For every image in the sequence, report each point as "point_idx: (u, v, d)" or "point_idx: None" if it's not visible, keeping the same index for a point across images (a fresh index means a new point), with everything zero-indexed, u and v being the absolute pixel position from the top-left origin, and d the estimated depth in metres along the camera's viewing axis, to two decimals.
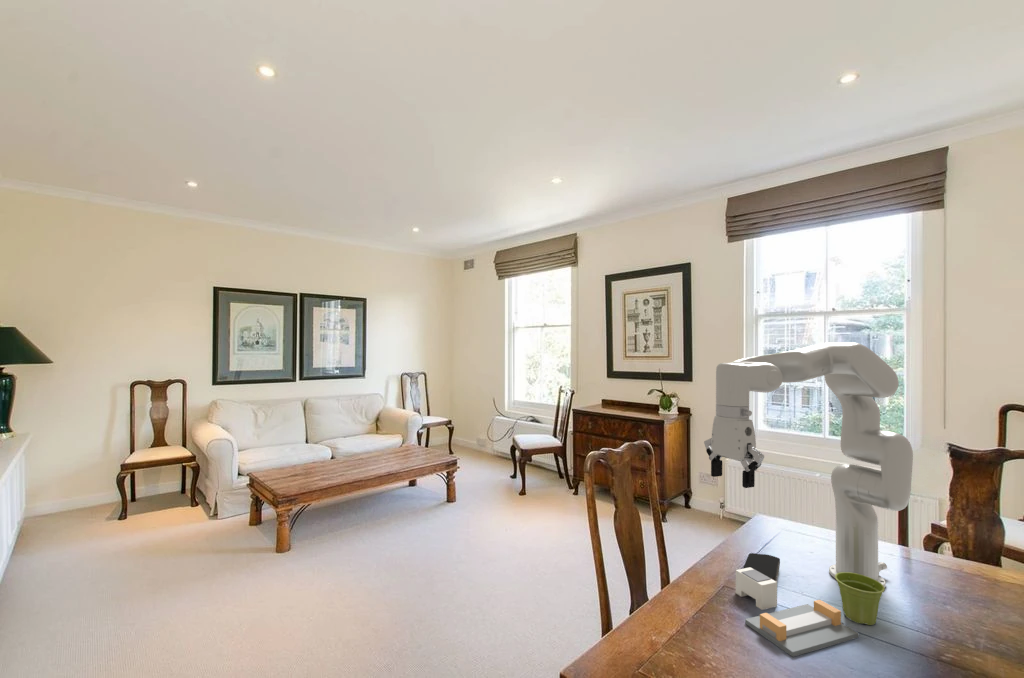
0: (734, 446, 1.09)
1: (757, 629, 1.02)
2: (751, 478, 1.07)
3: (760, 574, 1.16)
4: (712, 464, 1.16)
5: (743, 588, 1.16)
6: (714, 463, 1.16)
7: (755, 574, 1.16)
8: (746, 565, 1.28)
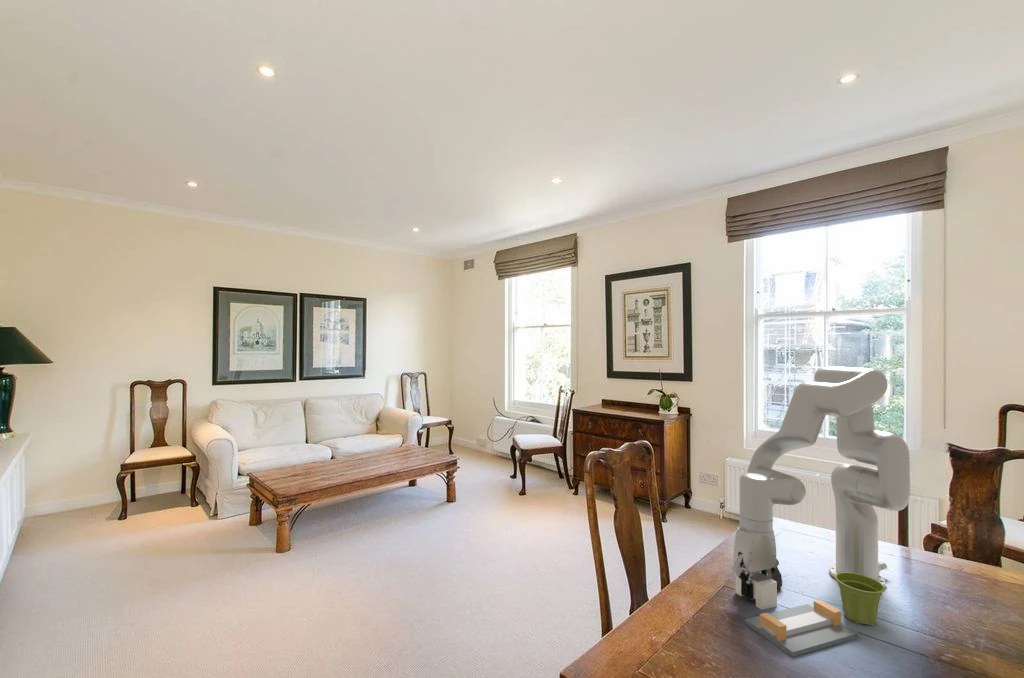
0: (771, 556, 1.14)
1: (757, 629, 1.02)
2: None
3: (760, 574, 1.16)
4: (752, 587, 1.13)
5: None
6: None
7: (755, 574, 1.16)
8: None
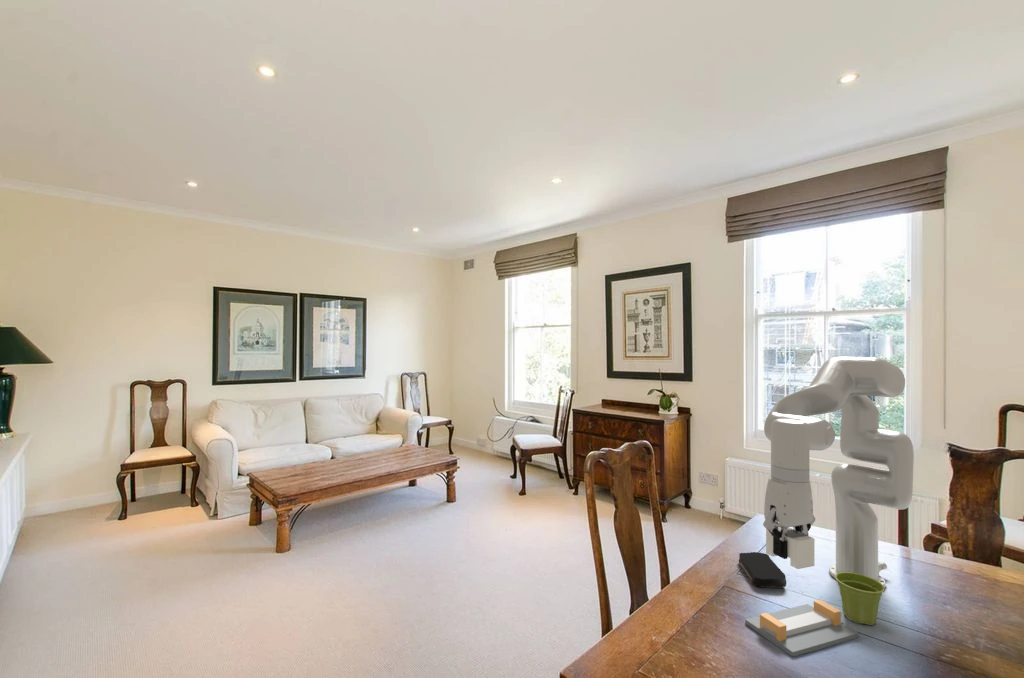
0: (808, 510, 1.01)
1: (757, 629, 1.02)
2: None
3: (794, 531, 1.03)
4: None
5: None
6: None
7: (789, 531, 1.03)
8: (751, 568, 1.26)
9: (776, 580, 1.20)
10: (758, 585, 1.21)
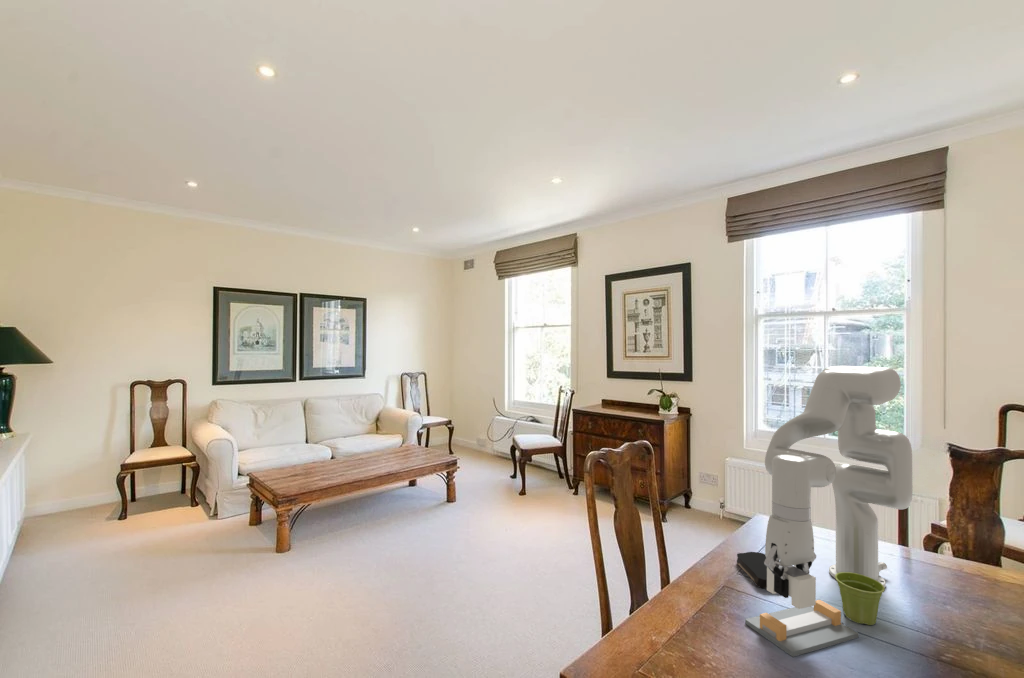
0: (809, 548, 1.01)
1: (757, 629, 1.02)
2: None
3: (795, 569, 1.02)
4: (788, 583, 0.99)
5: None
6: None
7: (790, 568, 1.02)
8: (752, 569, 1.26)
9: None
10: (762, 586, 1.20)
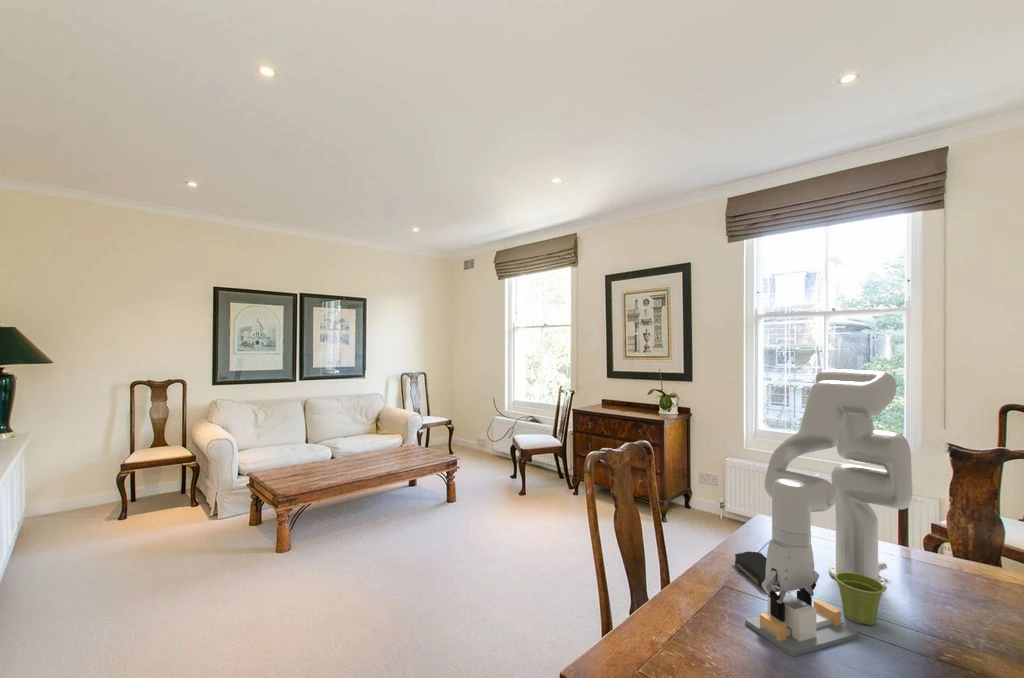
0: (809, 573, 1.01)
1: (757, 629, 1.02)
2: None
3: (796, 599, 1.02)
4: (784, 607, 0.99)
5: None
6: None
7: (790, 599, 1.02)
8: (754, 570, 1.25)
9: None
10: None
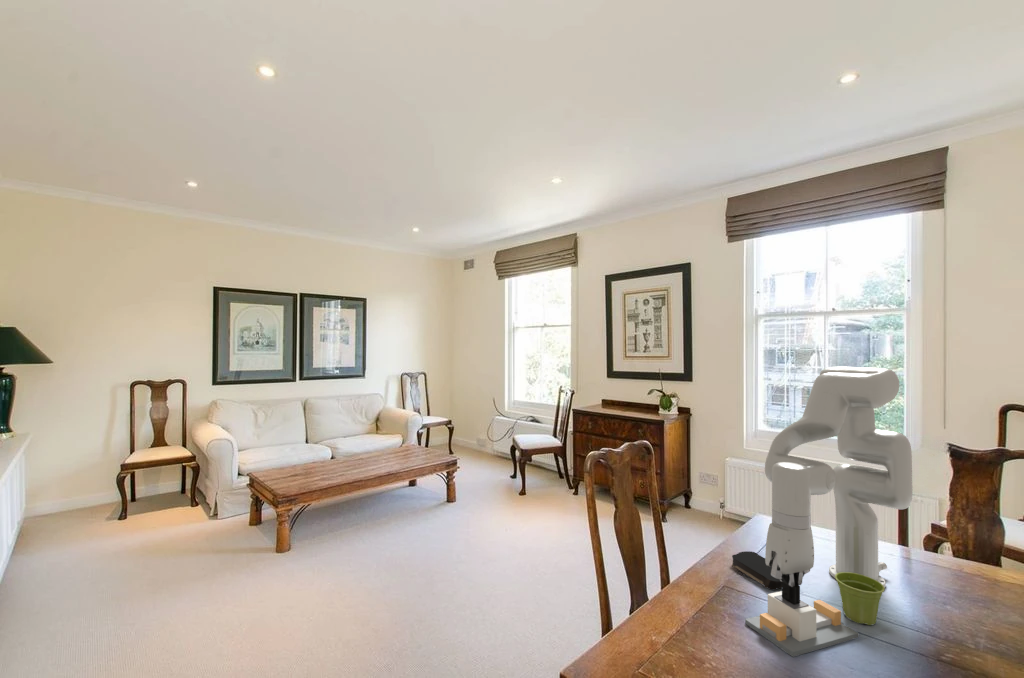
0: (809, 556, 1.01)
1: (757, 629, 1.02)
2: None
3: None
4: (796, 590, 1.00)
5: (776, 615, 1.02)
6: None
7: None
8: (758, 571, 1.24)
9: None
10: (774, 588, 1.19)
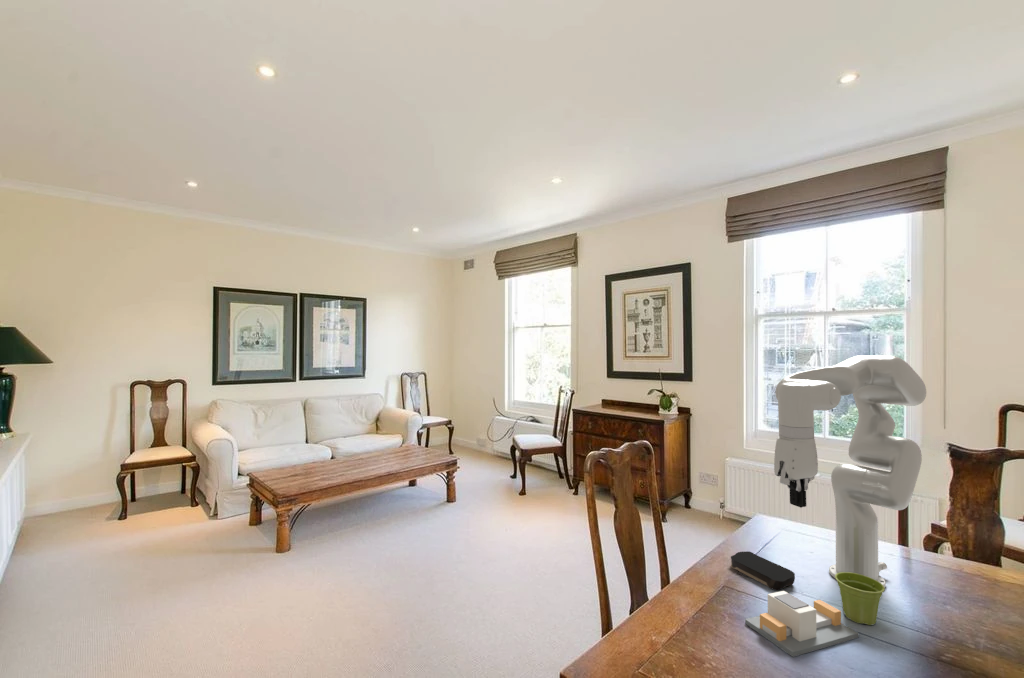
0: (813, 463, 1.12)
1: (757, 629, 1.02)
2: None
3: (796, 599, 1.02)
4: (802, 494, 1.11)
5: (776, 615, 1.02)
6: None
7: (790, 599, 1.02)
8: (760, 572, 1.24)
9: (791, 578, 1.21)
10: (779, 588, 1.19)
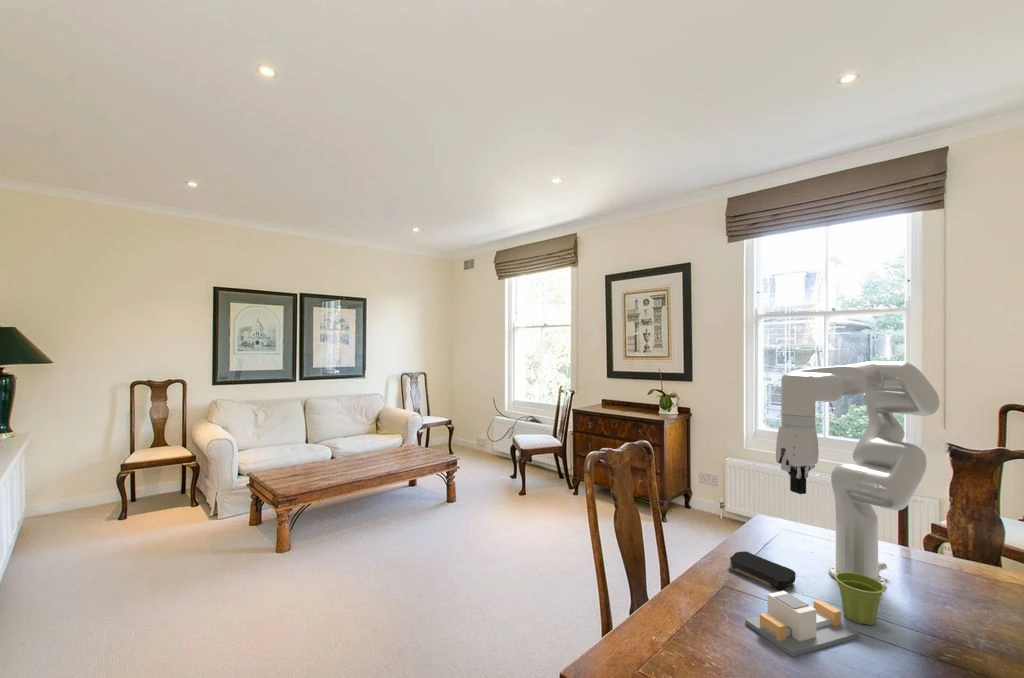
0: (814, 452, 1.16)
1: (757, 629, 1.02)
2: None
3: (796, 599, 1.02)
4: (802, 482, 1.15)
5: (776, 615, 1.02)
6: None
7: (790, 599, 1.02)
8: (763, 572, 1.24)
9: (792, 577, 1.21)
10: (782, 588, 1.19)
